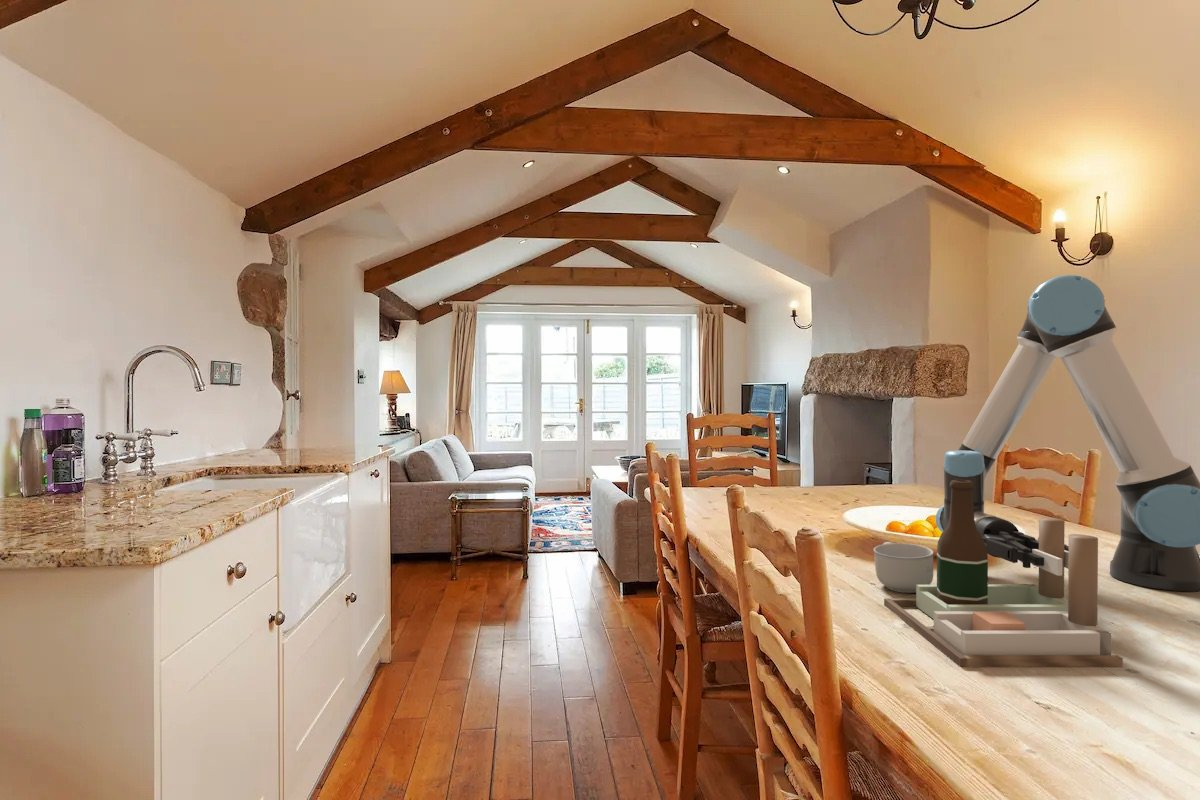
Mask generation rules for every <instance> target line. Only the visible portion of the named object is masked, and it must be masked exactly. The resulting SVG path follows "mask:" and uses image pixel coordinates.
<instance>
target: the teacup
mask: <svg viewBox="0 0 1200 800" xmlns="http://www.w3.org/2000/svg"><path fill="white" fill-rule="evenodd" d="M873 553H874V565H875V574H876V577H877V579H878V580H879V582H880V583H881V584H882V585H884V586H885V587H886V588H887V589H888V590H891V591H893V592H896V593H897V592H898V593H904V594H916V585H932V582H933V579H934V553H935V552H934V550H933V549H932V548H930V547H927V546H924V545H920V544H914V543H906V542H905V543H902V542H901V543H900V542H898V543H896V542H891V541H885V542H884V543H882V544H879V545H877V546H875V547H873Z"/></svg>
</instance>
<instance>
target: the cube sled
mask: <svg viewBox="0 0 1200 800" xmlns="http://www.w3.org/2000/svg"><path fill="white" fill-rule="evenodd" d="M1068 546H1069V552H1068V569H1067V570H1068V575H1067V576H1068V581H1067V582H1068V583H1067V585H1068V586H1067V587H1068V588H1067V591H1068V592H1067V593H1068V594H1067V597H1068V598H1067V600H1068V612H1067V611H934V619H933V626H934V633H935V634H936V635H938V636H939V637H940V638H942V639H943V640H944V641H945V642H947V643H948V644H949V645H951V646H952V647H953V648H954V649H956V650H957V651H958V652H960V653H961V654H962V655H1112V633H1111V632H1110V631H1108V630H1106V629H1103V628H1101V627H1099V626H1098V597H1099V596H1098V592H1099V591H1098V589H1099V588H1098V587H1099V582H1098V581H1099V579H1098V578H1099V574H1098V573H1099V571H1098V570H1099V567H1098V566H1099V561H1098V560H1099V538H1098V537H1097V536H1093V535H1088V534H1079V533H1078V534H1077V533H1076V534H1075V533H1072V534H1068ZM973 612H1006V613H1008V614H1010V615H1011V616H1013V617H1015V618H1017V619H1018V620H1020V621H1022V622H1023V623H1025V630H1022V631H973Z"/></svg>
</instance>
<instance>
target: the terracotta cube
mask: <svg viewBox="0 0 1200 800" xmlns="http://www.w3.org/2000/svg"><path fill="white" fill-rule="evenodd" d="M1022 630H1025V623H1023V622H1022V621H1020V620H1018V619H1017V618H1015V617H1013V616H1011V615H1010V614H1008V613H1006V612H973V631H1022Z"/></svg>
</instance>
